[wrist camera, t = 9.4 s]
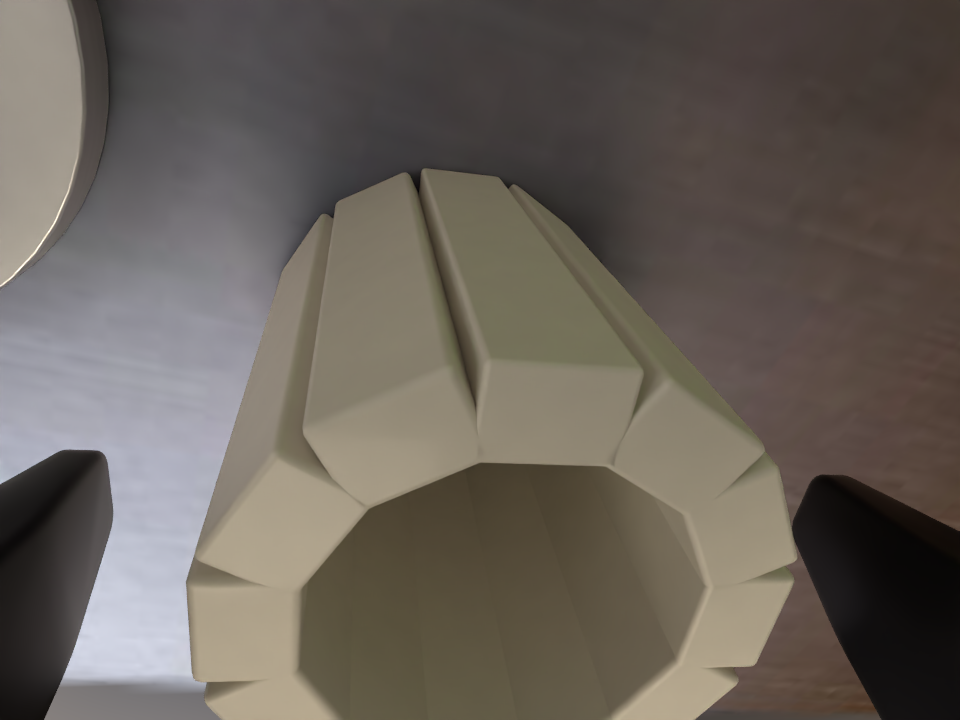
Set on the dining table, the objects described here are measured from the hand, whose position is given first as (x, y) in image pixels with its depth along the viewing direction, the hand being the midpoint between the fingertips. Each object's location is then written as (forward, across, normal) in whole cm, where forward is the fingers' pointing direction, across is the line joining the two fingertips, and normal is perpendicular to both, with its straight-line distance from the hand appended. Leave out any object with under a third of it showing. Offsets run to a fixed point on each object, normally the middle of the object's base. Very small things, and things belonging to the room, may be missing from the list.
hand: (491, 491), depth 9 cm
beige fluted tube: (+5, 0, 0) cm, 5 cm away
